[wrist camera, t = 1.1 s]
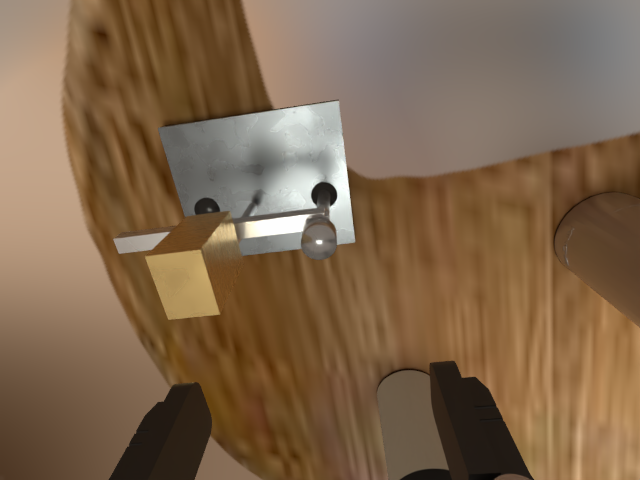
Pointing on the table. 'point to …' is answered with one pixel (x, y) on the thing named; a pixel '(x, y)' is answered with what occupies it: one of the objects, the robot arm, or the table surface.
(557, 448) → the table surface
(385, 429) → the travel mug
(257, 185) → the bolt plate
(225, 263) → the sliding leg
